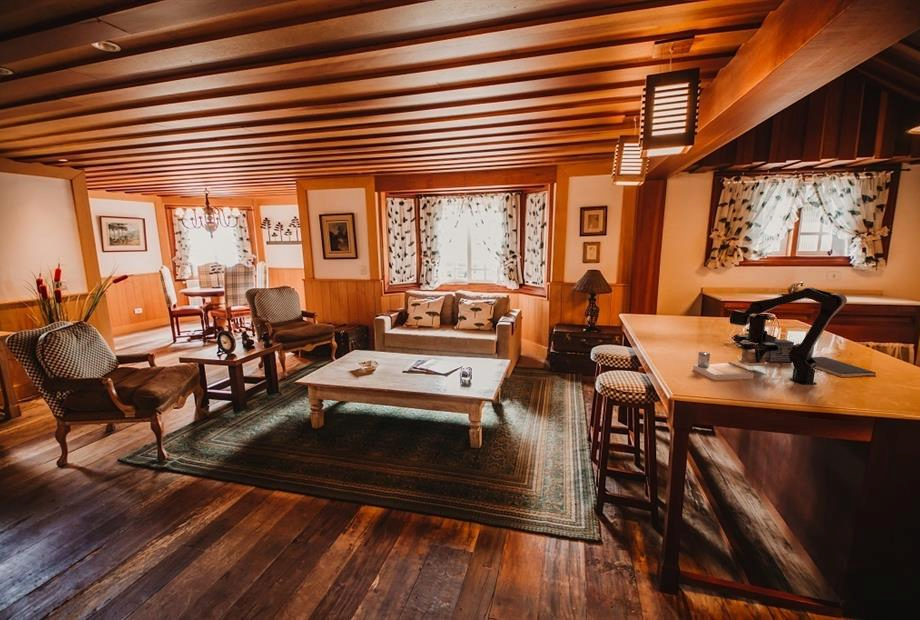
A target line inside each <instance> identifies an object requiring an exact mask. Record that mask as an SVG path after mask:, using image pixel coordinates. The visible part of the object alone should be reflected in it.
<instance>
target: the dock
mask: <svg viewBox="0 0 920 620" xmlns="http://www.w3.org/2000/svg"><path fill="white" fill-rule="evenodd" d="M697 365H698V364H693V366H692V370H693V371H695V372H697V373H699V374H701V375H703V376H705V377H707V378H709V379H712V380H713V381H727V380H747V379H749V380H750V379H751V380H752V379H754V377H755V376H754V375H755V371H753V370H751V369H748V368H746V367H743V366H741V365H738V364H736V363H733V362H730V361H729V362H726V363H709V368H701V367H698V366H697Z"/></svg>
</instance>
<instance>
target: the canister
mask: <svg viewBox="0 0 920 620" xmlns="http://www.w3.org/2000/svg"><path fill="white" fill-rule="evenodd" d="M697 353H698V355H697V356H698V358H697V364H696V365H697V366H698V367H701V368H709V364H710V357H711V353H709V352H705V351H699V352H697Z"/></svg>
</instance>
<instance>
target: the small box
mask: <svg viewBox="0 0 920 620" xmlns="http://www.w3.org/2000/svg"><path fill="white" fill-rule="evenodd" d="M763 343H768V342H763ZM774 344H777V345H778V351H768V352H766V357H765V362H766V363H779V364H780V363H782V364H784V363H785V364H786V363H787V364H788V363H789V364H790V363H792V362H791V361H790V359H789V355H790V354H788V353H789V352H790V351H791V350H792V347H793V345H795V342H794V341H790V340H787V339H776V340H775V342H774ZM792 364H793V363H792Z"/></svg>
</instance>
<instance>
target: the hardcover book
mask: <svg viewBox="0 0 920 620" xmlns="http://www.w3.org/2000/svg"><path fill="white" fill-rule="evenodd" d="M812 358H813V359H814V360H815V361H816V362H817V363H818V364H817V365H816V367H814V368H813V369H817V370H820V371H823V372H826V373H828V374H832V375H835V376H838V377H841V378H842V377H843V378H844V377H863V376H862V375H875V376H876V372H875V371H872V370H870V369H866V368H863V367H859V366H856V365H852V364H850V363H846V362H843V361H839V360H836V359H833V358H829V357H827V356H812Z"/></svg>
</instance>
